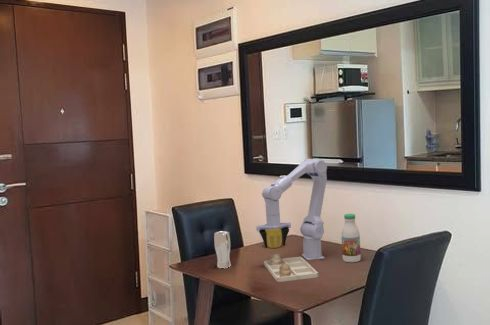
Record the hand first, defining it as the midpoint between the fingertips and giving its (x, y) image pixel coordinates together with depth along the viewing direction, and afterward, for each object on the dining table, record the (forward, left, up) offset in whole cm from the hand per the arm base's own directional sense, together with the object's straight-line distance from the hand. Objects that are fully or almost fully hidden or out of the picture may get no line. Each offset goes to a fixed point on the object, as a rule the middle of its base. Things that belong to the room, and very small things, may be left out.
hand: (274, 246), depth 219 cm
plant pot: (-34, +7, -10) cm, 36 cm away
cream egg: (0, 0, -9) cm, 9 cm away
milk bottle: (+2, +33, -10) cm, 34 cm away
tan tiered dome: (+16, 0, -9) cm, 18 cm away
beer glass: (-10, -21, -10) cm, 25 cm away
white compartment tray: (+8, +4, -9) cm, 13 cm away
